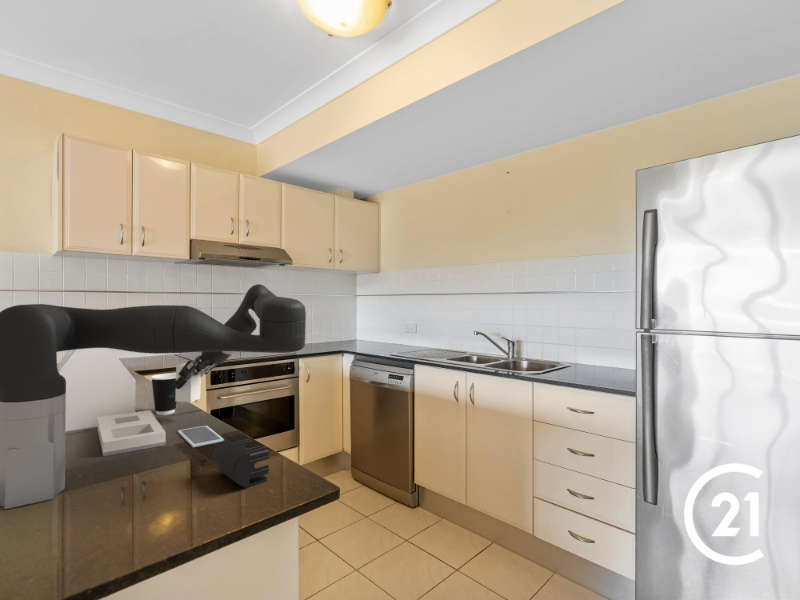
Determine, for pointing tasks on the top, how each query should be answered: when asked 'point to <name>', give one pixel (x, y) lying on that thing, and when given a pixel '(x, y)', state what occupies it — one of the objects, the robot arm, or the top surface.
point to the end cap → (241, 462)
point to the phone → (200, 436)
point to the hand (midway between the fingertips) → (182, 384)
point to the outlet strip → (129, 432)
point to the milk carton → (95, 386)
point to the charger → (188, 387)
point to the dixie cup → (164, 393)
